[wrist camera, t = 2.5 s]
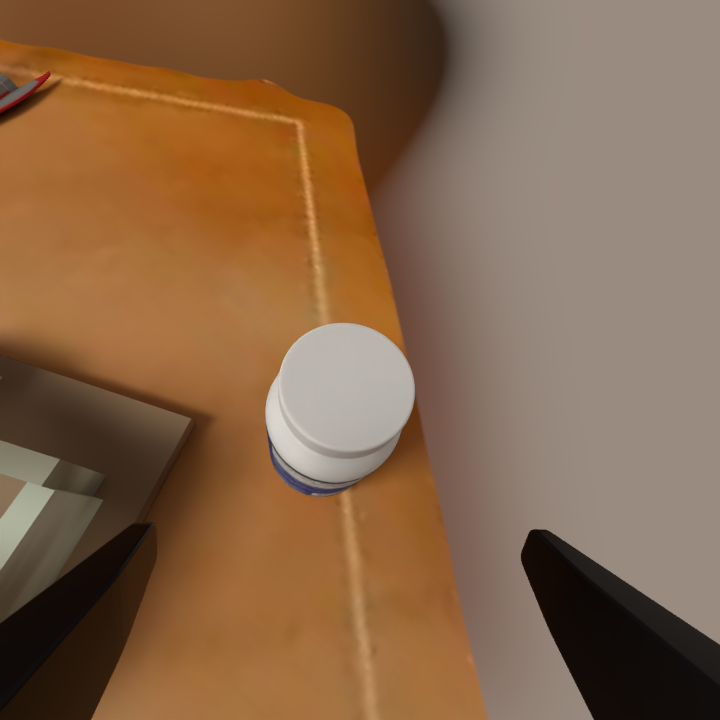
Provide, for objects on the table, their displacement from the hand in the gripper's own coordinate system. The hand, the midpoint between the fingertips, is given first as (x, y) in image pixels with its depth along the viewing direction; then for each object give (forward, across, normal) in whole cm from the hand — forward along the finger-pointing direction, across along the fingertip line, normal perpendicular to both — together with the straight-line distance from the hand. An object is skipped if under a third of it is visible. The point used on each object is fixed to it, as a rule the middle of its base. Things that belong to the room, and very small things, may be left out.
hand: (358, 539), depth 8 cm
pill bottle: (+11, 0, +5) cm, 12 cm away
